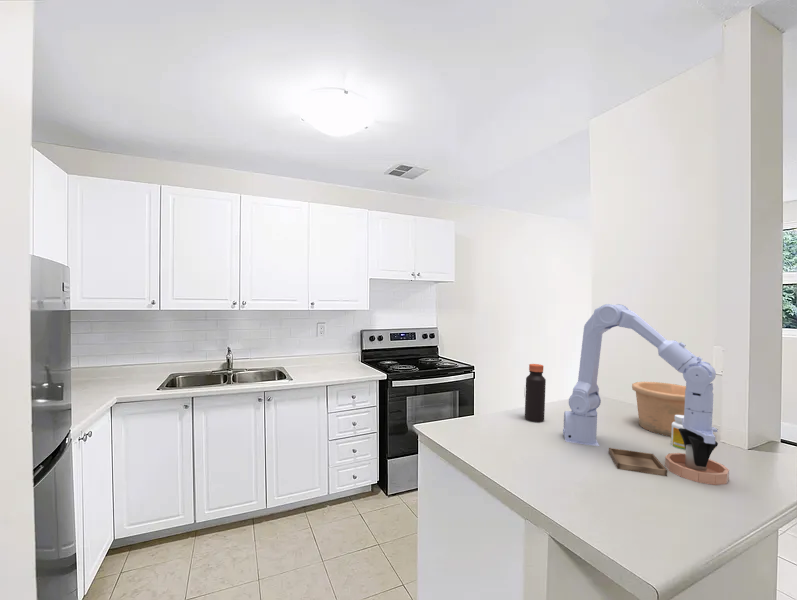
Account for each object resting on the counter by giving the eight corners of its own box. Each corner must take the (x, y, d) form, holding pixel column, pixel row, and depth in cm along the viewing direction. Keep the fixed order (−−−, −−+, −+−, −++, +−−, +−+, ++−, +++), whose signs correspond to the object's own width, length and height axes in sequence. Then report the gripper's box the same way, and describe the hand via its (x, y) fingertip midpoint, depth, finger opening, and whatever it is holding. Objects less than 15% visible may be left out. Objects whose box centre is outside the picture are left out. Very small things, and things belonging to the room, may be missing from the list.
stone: (689, 469, 97) (689, 449, 97) (682, 462, 101) (683, 443, 101) (710, 472, 96) (710, 452, 96) (702, 464, 100) (702, 445, 100)
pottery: (635, 415, 149) (636, 378, 149) (707, 429, 135) (709, 388, 135) (625, 429, 133) (627, 388, 132) (707, 446, 119) (708, 400, 119)
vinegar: (546, 419, 141) (547, 364, 141) (542, 423, 136) (544, 367, 135) (527, 415, 145) (529, 362, 145) (522, 420, 139) (524, 365, 139)
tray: (617, 470, 99) (617, 463, 99) (608, 454, 110) (608, 447, 110) (666, 478, 96) (667, 470, 96) (652, 461, 106) (653, 453, 106)
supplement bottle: (696, 452, 113) (697, 420, 113) (676, 450, 115) (677, 418, 114) (686, 446, 119) (688, 414, 119) (667, 444, 120) (668, 413, 120)
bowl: (676, 481, 95) (676, 469, 95) (659, 460, 107) (659, 450, 107) (738, 490, 91) (739, 478, 91) (713, 468, 103) (714, 457, 103)
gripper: (731, 419, 90) (729, 477, 91) (704, 403, 104) (702, 453, 104) (696, 415, 93) (693, 471, 93) (673, 400, 106) (671, 449, 107)
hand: (696, 461), depth 99 cm, fingers closed on stone, 4 cm apart
